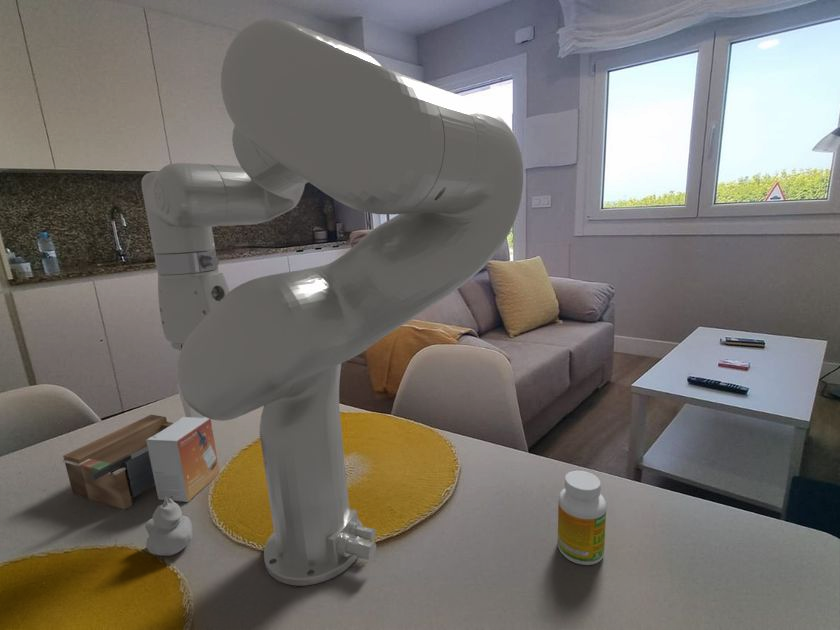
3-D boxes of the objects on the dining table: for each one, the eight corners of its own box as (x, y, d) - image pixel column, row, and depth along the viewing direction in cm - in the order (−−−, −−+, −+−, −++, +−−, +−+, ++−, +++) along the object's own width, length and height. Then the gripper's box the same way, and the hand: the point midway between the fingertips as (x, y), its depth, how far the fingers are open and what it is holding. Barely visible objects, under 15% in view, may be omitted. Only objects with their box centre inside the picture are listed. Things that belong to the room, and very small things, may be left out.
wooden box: (205, 457, 80) (199, 422, 78) (123, 510, 66) (113, 469, 64) (158, 447, 84) (151, 414, 83) (71, 495, 70) (61, 456, 69)
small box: (188, 503, 67) (176, 441, 64) (157, 500, 68) (144, 439, 65) (221, 473, 74) (211, 417, 72) (193, 471, 75) (182, 415, 73)
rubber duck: (173, 568, 54) (161, 512, 52) (134, 558, 56) (121, 504, 54) (206, 538, 59) (196, 486, 57) (169, 529, 61) (159, 479, 59)
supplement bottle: (599, 573, 50) (602, 499, 48) (552, 556, 53) (553, 485, 50) (607, 543, 54) (611, 474, 52) (563, 528, 57) (565, 462, 55)
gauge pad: (197, 457, 78) (191, 424, 77) (104, 515, 63) (94, 476, 62) (186, 454, 79) (180, 422, 78) (92, 511, 64) (82, 472, 63)
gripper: (249, 261, 61) (266, 383, 65) (173, 262, 66) (192, 374, 70) (205, 268, 54) (227, 404, 58) (124, 268, 59) (150, 392, 64)
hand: (208, 387), depth 64 cm, fingers closed
